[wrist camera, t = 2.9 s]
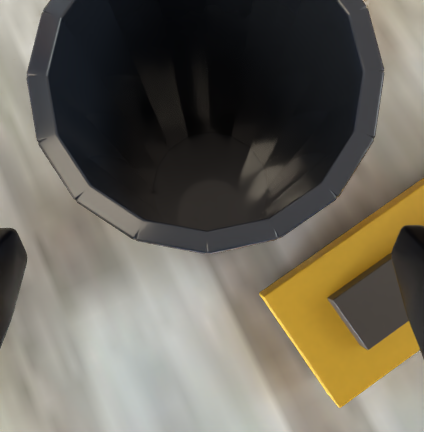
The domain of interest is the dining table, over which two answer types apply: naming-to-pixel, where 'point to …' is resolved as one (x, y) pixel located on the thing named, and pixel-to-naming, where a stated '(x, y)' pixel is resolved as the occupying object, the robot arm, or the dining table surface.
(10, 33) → the dining table surface
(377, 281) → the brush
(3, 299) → the robot arm
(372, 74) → the tumbler
